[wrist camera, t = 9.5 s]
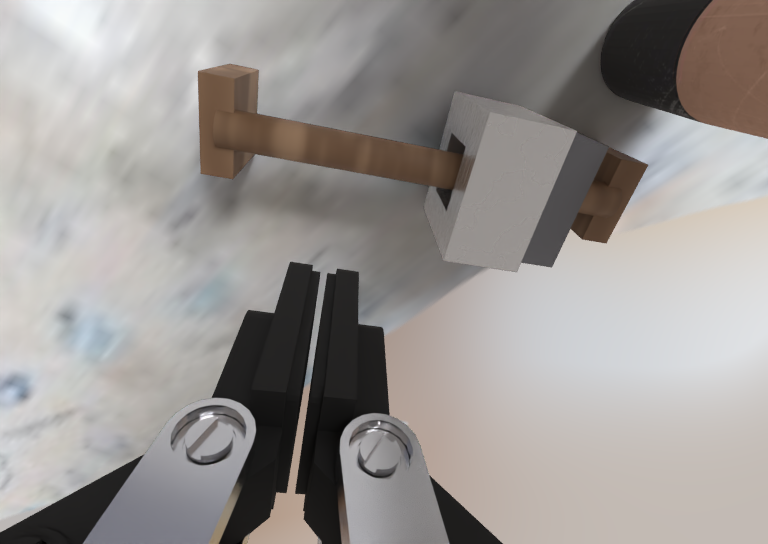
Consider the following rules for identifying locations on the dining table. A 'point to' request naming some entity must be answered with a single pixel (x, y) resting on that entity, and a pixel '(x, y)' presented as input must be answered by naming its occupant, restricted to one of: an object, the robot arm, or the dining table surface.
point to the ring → (565, 200)
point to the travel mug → (693, 60)
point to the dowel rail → (365, 150)
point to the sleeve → (495, 181)
